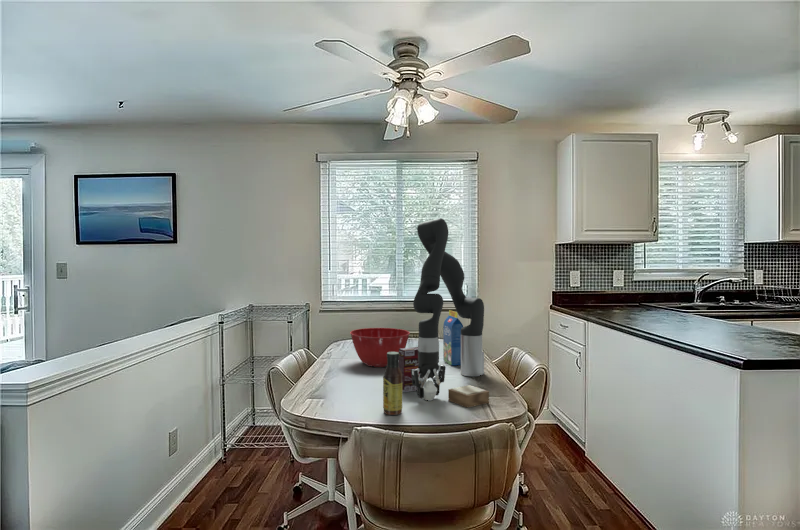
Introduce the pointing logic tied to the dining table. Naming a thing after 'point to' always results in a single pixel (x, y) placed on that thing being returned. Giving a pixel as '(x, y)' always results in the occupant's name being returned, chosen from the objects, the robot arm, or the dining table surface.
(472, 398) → the base
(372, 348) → the mixing bowl
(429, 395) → the white fluted ornament
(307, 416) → the dining table surface
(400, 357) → the supplement box
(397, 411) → the sauce bottle
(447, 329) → the blue food package
